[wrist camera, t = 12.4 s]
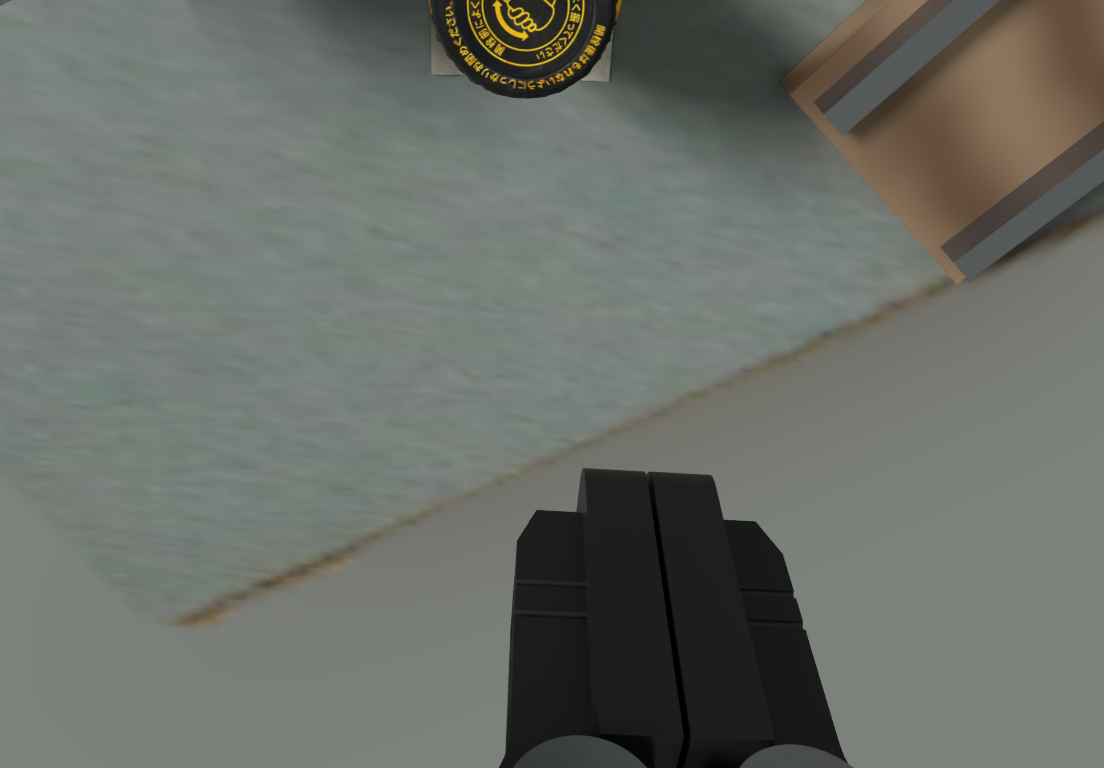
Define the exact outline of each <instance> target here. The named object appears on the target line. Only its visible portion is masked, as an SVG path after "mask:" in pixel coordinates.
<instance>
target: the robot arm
mask: <svg viewBox="0 0 1104 768" xmlns="http://www.w3.org/2000/svg"><path fill="white" fill-rule="evenodd" d="M514 577H515V578H514V590H513V603H512V618H511V631H510V653H509V678H508V680H509V681H508V704H507V705H508V706H507V729H506V751H505V752H506V753H505V757H504V759H503V761H502V763H501V765H500V767H499V768H853V767H852V766H850V765H849V764H848V763H847V761H846V759H845V757H844V755H843V752H842V749H841V747H840V744H839V740H838V737H837V734H836V731H835V727H834V724H833V721H832V717H831V714H830V710H829V707H828V704H827V700H826V697H825V694H824V690H823V687H822V684H821V680H820V677H819V674H818V670H817V667H816V664H815V661H814V657H813V654H812V650H811V647H810V643H809V640H808V637H807V633H806V630H803V620H802V617H801V613H800V610H799V607H798V603H797V600H796V598H794V596H793V592H794V590H793V587H792V583H791V580H790V577H789V573H788V570H787V567H786V563H785V560H784V557H783V554H782V553H781V552H780V550H779V549H778V548H777V547H776V546H775V544H774V543H773V542H772V541H771V540H770V538H769V537H768V536H767V535H766V534H765V532H764V531H763V530H762V529H761V528H760V526H759V525H758V524H757V523H756V522H754V521H736V520H724V519H723V515H722V511H721V507H720V502H719V498H718V494H717V490H716V485H715V482H714V479H713V477H712V476H711V475H700V474H683V473H666V472H648V474H647V476H646V473H645V472H643V471H625V470H624V471H623V470H607V469H589V468H583V469H582V473H581V478H580V486H579V494H578V503H577V511H576V512H563V511H544V510H536V512H535V513H534V515H533V516H532V518H531V520H530V521H529V523H528V525H527V526H526V528H525V529H524V531H523V532H522V534H521V535H520V537H519V539H518V540H517V550H516V563H515V576H514Z"/></svg>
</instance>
